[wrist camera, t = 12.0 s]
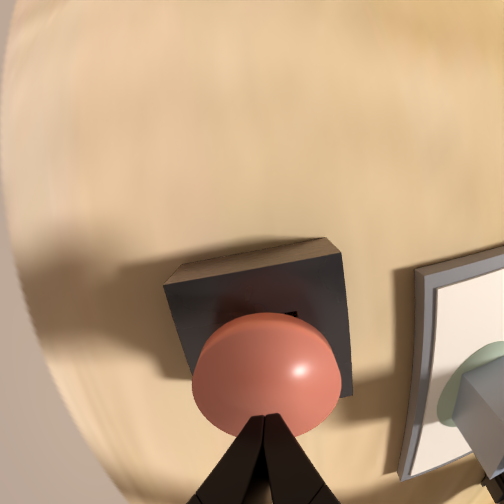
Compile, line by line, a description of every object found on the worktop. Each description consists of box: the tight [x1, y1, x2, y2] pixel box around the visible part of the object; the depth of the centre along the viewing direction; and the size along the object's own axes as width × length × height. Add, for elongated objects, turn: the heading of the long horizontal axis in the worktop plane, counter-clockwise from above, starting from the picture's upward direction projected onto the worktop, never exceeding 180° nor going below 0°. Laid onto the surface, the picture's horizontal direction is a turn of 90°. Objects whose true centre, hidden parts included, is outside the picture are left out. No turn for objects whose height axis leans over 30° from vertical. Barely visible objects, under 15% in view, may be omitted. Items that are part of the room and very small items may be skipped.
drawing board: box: [397, 246, 504, 482], centre depth 15 cm, size 10×18×2 cm, turn 12°
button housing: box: [163, 238, 353, 398], centre depth 14 cm, size 7×7×3 cm
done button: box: [192, 313, 341, 437], centre depth 11 cm, size 5×5×4 cm
